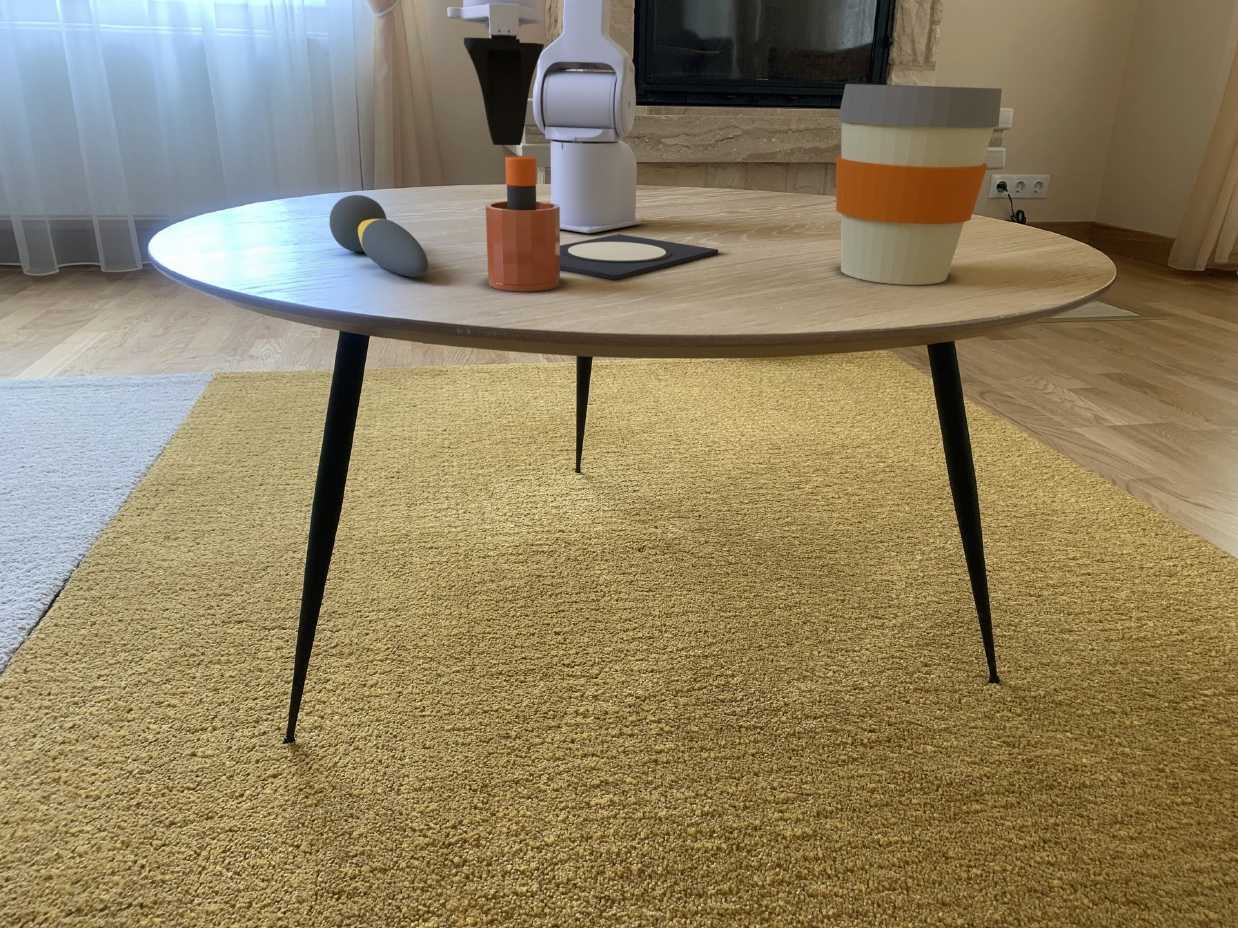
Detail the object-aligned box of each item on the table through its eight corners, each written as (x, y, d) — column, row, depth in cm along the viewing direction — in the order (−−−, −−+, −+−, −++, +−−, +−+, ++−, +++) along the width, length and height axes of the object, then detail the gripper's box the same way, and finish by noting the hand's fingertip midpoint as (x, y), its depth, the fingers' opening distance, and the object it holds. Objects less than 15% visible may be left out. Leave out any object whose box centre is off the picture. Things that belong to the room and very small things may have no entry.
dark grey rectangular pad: (618, 238, 89) (618, 232, 89) (718, 253, 82) (718, 247, 82) (508, 260, 77) (508, 253, 77) (615, 280, 71) (615, 273, 70)
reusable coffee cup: (994, 290, 70) (1035, 90, 64) (842, 288, 70) (869, 85, 64) (935, 260, 82) (965, 87, 76) (804, 258, 81) (824, 83, 75)
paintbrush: (466, 279, 70) (463, 215, 68) (409, 287, 67) (403, 220, 65) (366, 241, 84) (361, 187, 82) (315, 246, 81) (309, 191, 79)
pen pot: (522, 273, 72) (521, 198, 70) (574, 283, 69) (574, 205, 67) (473, 284, 68) (470, 205, 66) (525, 295, 65) (524, 213, 63)
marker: (522, 273, 70) (520, 155, 66) (544, 277, 69) (542, 157, 65) (502, 277, 68) (498, 156, 65) (524, 281, 67) (521, 159, 63)
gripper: (448, -49, 69) (457, 133, 74) (438, -76, 56) (450, 148, 61) (537, -45, 70) (539, 135, 75) (548, -71, 57) (550, 149, 62)
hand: (505, 141), depth 68 cm, fingers open, 7 cm apart
